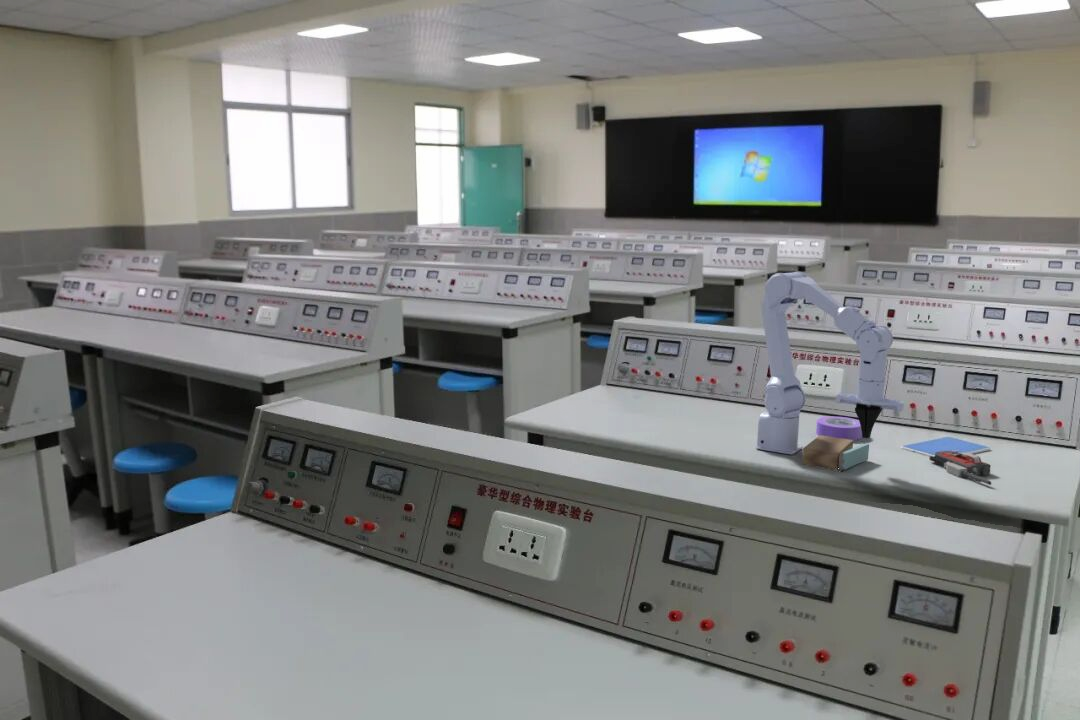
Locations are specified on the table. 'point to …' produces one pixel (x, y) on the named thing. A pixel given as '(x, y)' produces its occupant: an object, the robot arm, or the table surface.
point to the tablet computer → (944, 446)
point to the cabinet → (826, 452)
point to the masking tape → (839, 427)
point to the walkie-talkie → (962, 465)
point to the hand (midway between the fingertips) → (866, 437)
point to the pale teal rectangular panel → (855, 456)
